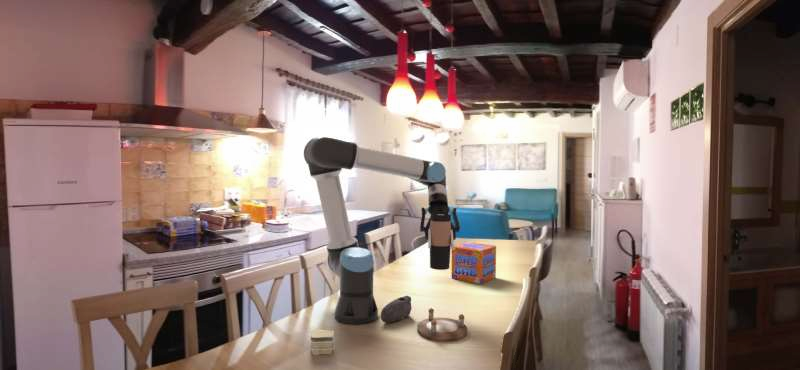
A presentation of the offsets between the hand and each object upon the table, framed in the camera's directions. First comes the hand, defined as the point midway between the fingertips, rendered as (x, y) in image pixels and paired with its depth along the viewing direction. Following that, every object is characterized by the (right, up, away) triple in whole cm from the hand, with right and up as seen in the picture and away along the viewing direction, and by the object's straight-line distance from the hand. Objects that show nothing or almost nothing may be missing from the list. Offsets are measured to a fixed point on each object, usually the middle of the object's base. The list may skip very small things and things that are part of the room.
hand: (441, 246), depth 150 cm
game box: (+20, -23, +49) cm, 58 cm away
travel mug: (0, -9, +4) cm, 9 cm away
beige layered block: (-37, -26, -31) cm, 55 cm away
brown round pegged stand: (-1, -25, -16) cm, 30 cm away
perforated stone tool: (-16, -25, -6) cm, 30 cm away
